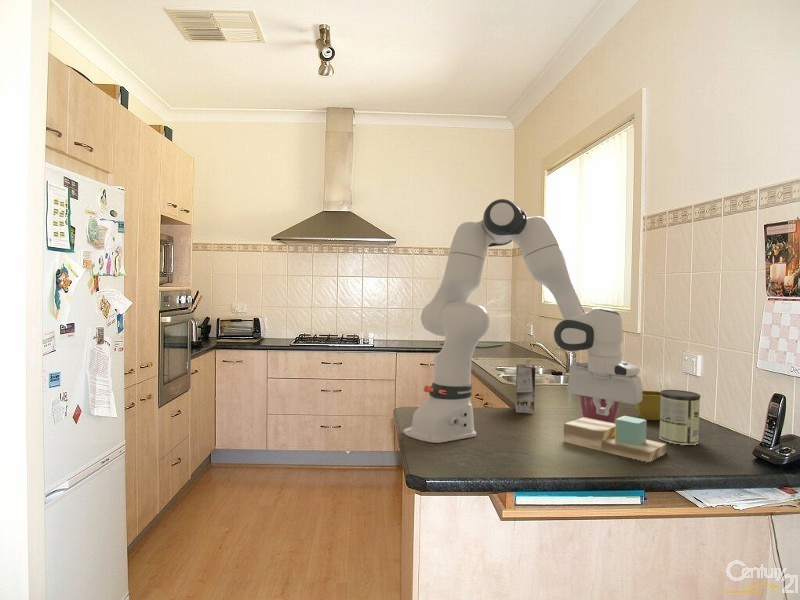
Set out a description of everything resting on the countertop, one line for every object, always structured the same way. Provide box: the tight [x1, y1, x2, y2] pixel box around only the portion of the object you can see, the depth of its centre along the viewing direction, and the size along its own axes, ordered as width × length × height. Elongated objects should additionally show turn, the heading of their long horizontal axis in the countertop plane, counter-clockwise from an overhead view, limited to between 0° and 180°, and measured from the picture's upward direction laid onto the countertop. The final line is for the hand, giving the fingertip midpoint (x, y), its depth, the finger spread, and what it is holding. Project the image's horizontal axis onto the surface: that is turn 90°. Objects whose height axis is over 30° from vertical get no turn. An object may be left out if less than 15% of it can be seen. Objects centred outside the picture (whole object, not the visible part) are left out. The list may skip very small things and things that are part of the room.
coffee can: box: [658, 389, 701, 446], centre depth 152 cm, size 10×10×14 cm
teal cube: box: [614, 415, 648, 446], centre depth 140 cm, size 6×6×6 cm
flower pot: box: [634, 389, 661, 421], centre depth 178 cm, size 9×9×9 cm
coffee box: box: [515, 363, 536, 415], centre depth 185 cm, size 9×6×16 cm
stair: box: [563, 417, 668, 463], centre depth 143 cm, size 12×24×5 cm, turn 44°
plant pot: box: [579, 395, 620, 423], centre depth 171 cm, size 14×14×13 cm
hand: (602, 414), depth 146 cm, fingers closed
